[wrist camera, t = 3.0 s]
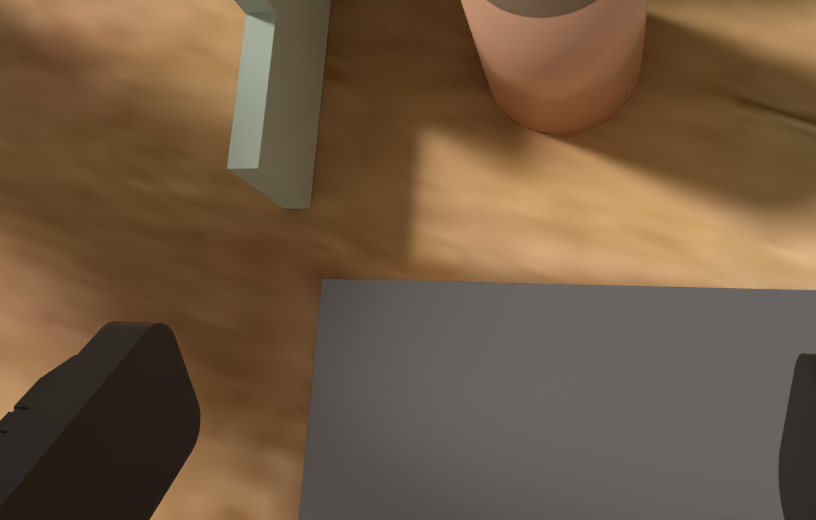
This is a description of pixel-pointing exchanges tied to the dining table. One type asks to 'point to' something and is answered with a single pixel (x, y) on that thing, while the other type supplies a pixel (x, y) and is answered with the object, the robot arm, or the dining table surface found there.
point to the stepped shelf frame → (279, 98)
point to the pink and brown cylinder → (559, 58)
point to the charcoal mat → (550, 401)
